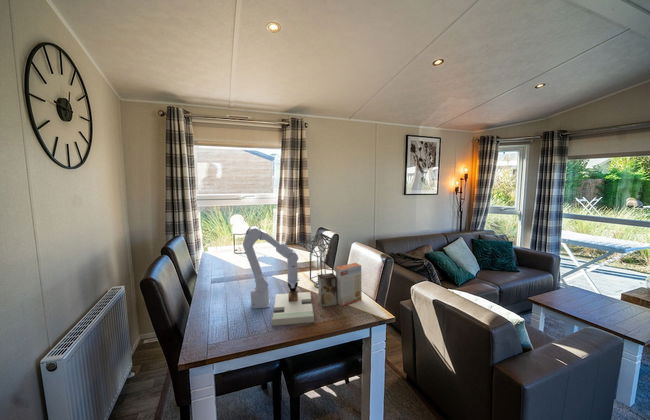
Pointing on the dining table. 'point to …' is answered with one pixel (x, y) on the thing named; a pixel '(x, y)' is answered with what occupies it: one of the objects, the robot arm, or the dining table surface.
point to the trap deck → (292, 309)
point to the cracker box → (348, 284)
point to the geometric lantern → (320, 250)
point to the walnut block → (293, 296)
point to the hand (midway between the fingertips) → (293, 294)
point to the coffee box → (327, 289)
